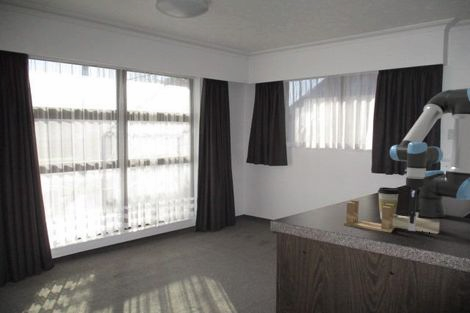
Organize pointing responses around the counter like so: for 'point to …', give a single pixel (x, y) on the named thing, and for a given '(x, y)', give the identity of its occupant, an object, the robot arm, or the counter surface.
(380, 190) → the coffee cup
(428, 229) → the rail
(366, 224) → the wooden stand
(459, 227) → the counter surface
